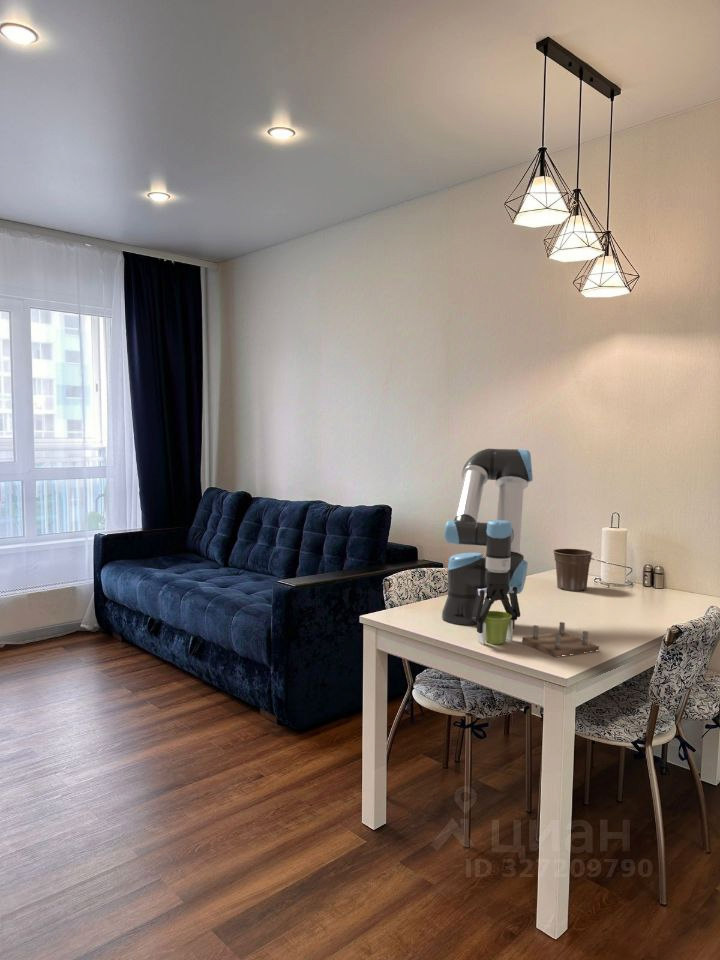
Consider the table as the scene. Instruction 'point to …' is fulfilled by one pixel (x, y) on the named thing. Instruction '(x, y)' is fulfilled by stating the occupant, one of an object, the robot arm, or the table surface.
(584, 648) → the stand
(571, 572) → the plant pot
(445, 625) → the table surface
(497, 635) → the plant pot
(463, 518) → the robot arm
